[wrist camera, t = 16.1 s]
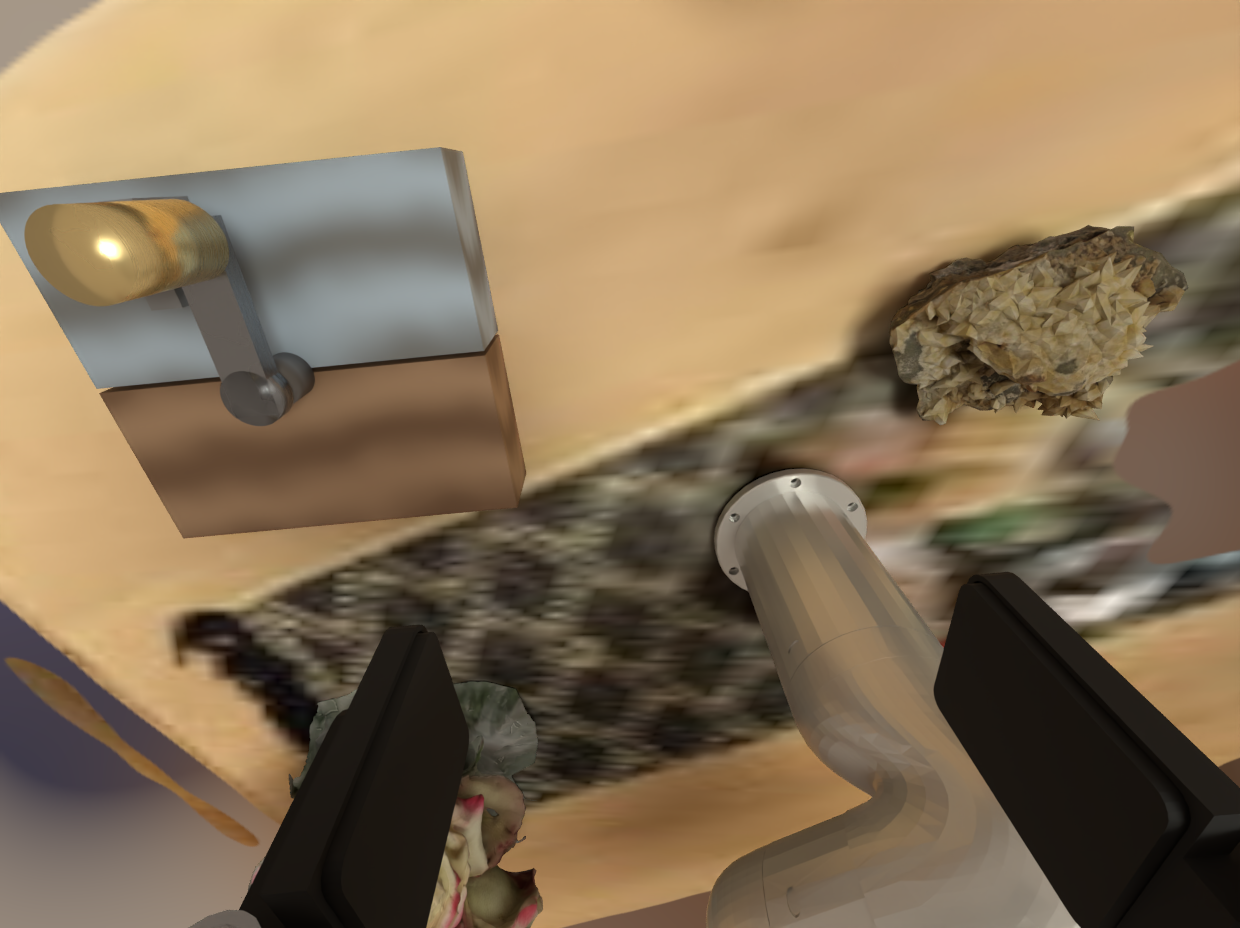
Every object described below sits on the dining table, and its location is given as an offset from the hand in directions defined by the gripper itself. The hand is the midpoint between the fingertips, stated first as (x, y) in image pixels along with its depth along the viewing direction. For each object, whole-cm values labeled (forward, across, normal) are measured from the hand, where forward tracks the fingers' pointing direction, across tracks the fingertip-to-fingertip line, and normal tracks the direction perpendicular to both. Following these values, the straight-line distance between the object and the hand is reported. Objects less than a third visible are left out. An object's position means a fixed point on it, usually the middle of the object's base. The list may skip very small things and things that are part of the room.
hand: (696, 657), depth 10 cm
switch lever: (+22, +21, -3) cm, 31 cm away
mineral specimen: (+31, -24, +4) cm, 39 cm away
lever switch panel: (+30, +21, +1) cm, 37 cm away
